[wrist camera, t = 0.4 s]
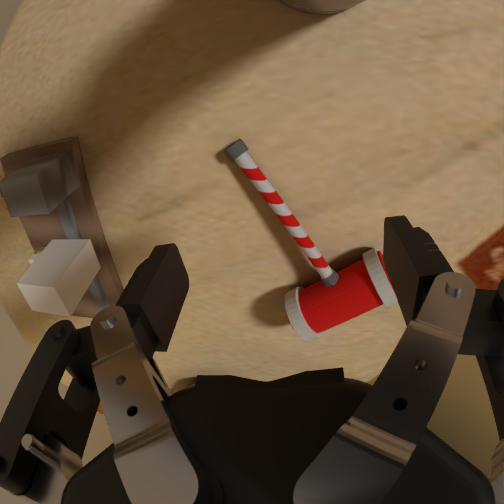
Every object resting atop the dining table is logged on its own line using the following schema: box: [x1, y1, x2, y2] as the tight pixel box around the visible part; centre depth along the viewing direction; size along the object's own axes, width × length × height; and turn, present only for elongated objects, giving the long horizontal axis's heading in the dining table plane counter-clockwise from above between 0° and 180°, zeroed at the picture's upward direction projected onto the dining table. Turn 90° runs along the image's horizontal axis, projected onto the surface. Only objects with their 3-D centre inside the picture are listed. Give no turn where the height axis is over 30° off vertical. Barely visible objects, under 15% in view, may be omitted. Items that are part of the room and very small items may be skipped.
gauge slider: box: [16, 239, 101, 317], centre depth 30 cm, size 4×10×9 cm, turn 93°
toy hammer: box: [223, 139, 398, 342], centre depth 30 cm, size 23×12×6 cm, turn 38°
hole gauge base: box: [0, 137, 124, 318], centre depth 32 cm, size 26×12×8 cm, turn 3°
